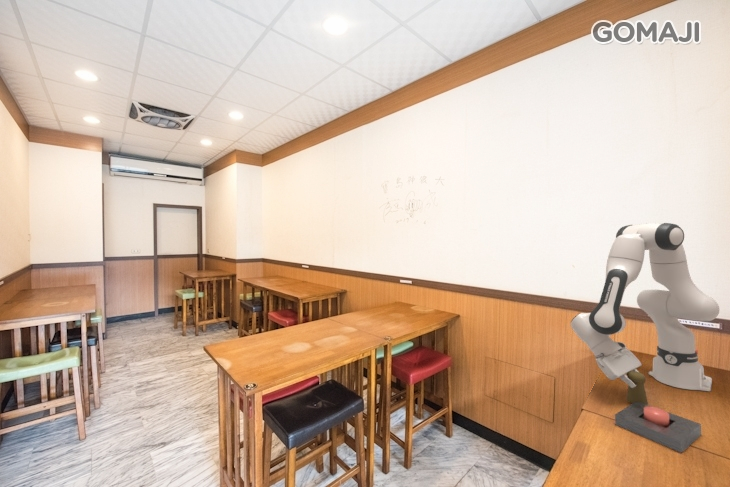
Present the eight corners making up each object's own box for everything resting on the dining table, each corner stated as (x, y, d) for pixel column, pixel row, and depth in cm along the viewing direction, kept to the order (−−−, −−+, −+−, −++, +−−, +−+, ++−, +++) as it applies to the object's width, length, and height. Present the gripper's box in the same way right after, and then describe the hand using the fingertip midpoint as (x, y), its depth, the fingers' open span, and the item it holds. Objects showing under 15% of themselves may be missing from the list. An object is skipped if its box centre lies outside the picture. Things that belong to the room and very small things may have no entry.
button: (648, 416, 102) (648, 404, 102) (672, 425, 97) (672, 413, 97) (640, 421, 99) (640, 409, 99) (665, 431, 94) (664, 418, 94)
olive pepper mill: (652, 406, 110) (651, 376, 109) (633, 405, 111) (631, 376, 111) (640, 397, 115) (639, 369, 115) (622, 396, 117) (621, 368, 117)
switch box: (637, 410, 109) (636, 401, 109) (701, 435, 95) (700, 424, 95) (615, 424, 101) (614, 414, 101) (681, 453, 87) (680, 441, 87)
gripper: (599, 352, 114) (632, 388, 106) (625, 342, 124) (657, 374, 115) (587, 360, 118) (618, 395, 110) (613, 349, 128) (643, 381, 119)
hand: (638, 384), depth 112 cm, fingers closed on olive pepper mill, 5 cm apart
